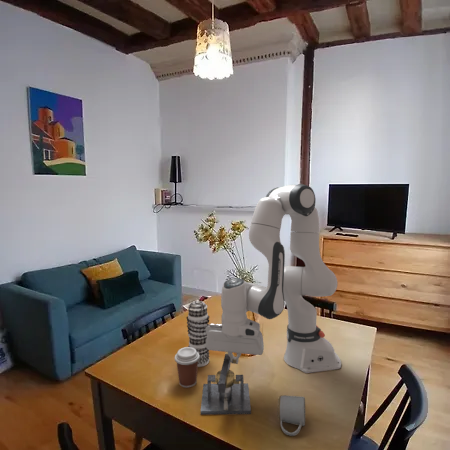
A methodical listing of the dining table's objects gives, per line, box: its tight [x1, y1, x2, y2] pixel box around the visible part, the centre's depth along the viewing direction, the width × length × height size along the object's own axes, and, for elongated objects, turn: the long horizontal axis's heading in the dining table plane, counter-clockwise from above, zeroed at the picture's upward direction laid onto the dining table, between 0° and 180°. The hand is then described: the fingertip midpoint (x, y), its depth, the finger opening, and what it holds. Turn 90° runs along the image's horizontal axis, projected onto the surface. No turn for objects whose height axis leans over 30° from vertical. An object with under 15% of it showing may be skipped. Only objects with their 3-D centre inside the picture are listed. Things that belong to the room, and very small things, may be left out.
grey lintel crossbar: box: [213, 352, 240, 393], centre depth 110 cm, size 19×9×6 cm, turn 173°
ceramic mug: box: [277, 395, 306, 437], centre depth 99 cm, size 11×8×8 cm
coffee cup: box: [174, 346, 200, 388], centre depth 120 cm, size 9×9×12 cm
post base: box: [200, 374, 252, 416], centre depth 111 cm, size 16×14×8 cm
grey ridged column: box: [185, 300, 210, 368], centre depth 133 cm, size 9×9×25 cm
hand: (234, 362), depth 116 cm, fingers closed
